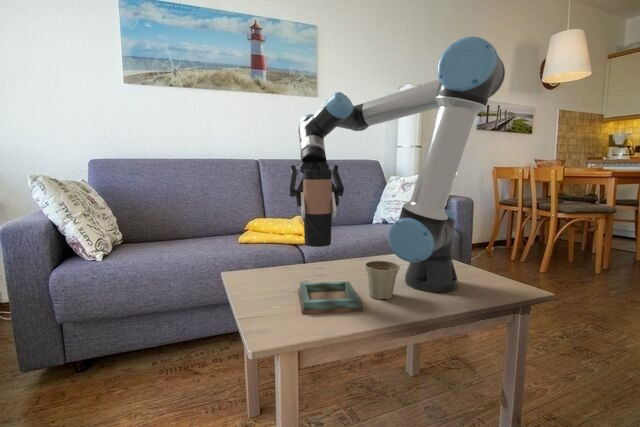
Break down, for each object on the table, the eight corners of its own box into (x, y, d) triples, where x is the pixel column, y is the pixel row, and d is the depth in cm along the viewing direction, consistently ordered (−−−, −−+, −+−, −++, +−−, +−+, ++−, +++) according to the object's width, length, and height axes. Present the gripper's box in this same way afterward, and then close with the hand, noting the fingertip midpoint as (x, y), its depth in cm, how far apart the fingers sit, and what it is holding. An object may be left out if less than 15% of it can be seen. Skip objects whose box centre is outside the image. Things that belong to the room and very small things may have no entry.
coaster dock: (350, 289, 97) (350, 280, 97) (363, 311, 82) (363, 300, 82) (297, 291, 95) (297, 282, 95) (301, 313, 81) (301, 303, 80)
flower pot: (398, 291, 96) (399, 261, 95) (398, 303, 87) (400, 271, 86) (365, 288, 98) (366, 259, 97) (362, 300, 89) (363, 268, 88)
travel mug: (320, 248, 87) (319, 169, 84) (297, 244, 91) (296, 170, 89) (337, 243, 93) (337, 169, 90) (315, 240, 97) (315, 170, 95)
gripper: (344, 163, 106) (355, 222, 92) (279, 163, 103) (279, 224, 89) (348, 144, 100) (360, 204, 86) (278, 144, 97) (279, 205, 83)
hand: (319, 214), depth 88 cm, fingers closed on travel mug, 7 cm apart
